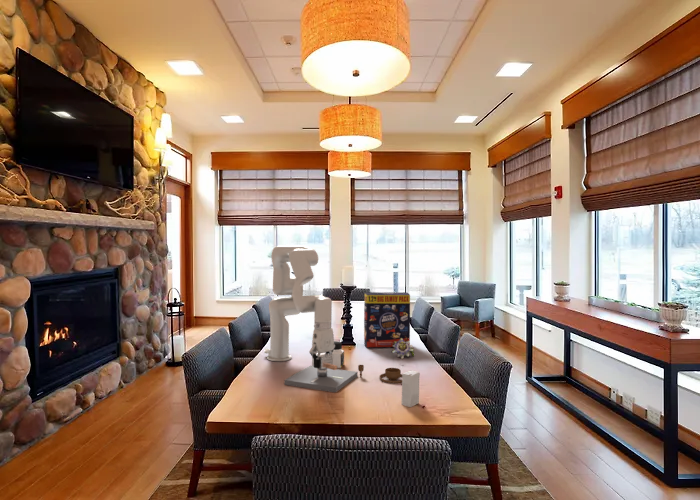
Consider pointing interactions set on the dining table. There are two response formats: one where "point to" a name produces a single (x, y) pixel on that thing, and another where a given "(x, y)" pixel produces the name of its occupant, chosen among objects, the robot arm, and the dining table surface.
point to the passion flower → (402, 348)
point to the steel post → (322, 372)
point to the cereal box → (386, 318)
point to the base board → (321, 379)
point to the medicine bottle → (338, 354)
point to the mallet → (326, 361)
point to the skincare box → (410, 388)
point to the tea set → (386, 374)
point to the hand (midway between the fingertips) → (322, 365)
